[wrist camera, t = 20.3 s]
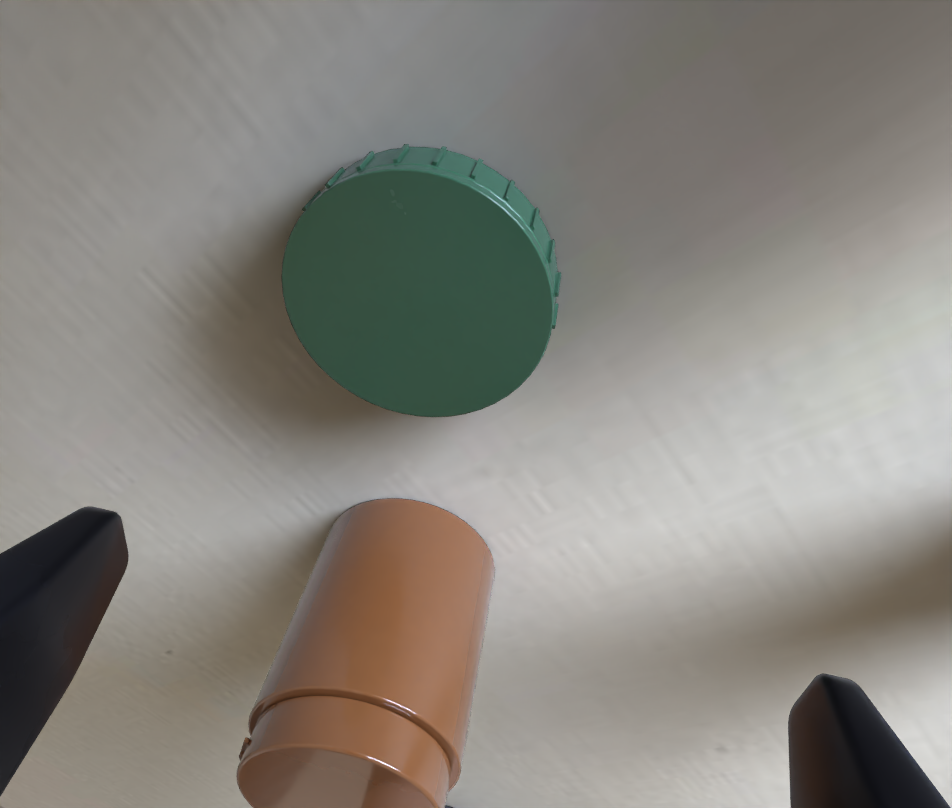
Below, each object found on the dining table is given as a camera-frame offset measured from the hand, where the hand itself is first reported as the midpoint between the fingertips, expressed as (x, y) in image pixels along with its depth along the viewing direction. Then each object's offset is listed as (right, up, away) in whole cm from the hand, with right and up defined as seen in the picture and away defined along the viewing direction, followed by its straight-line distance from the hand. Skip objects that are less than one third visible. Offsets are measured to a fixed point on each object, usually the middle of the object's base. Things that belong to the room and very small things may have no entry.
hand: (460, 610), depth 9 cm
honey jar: (-2, -3, +16) cm, 17 cm away
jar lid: (-1, +5, +9) cm, 10 cm away
